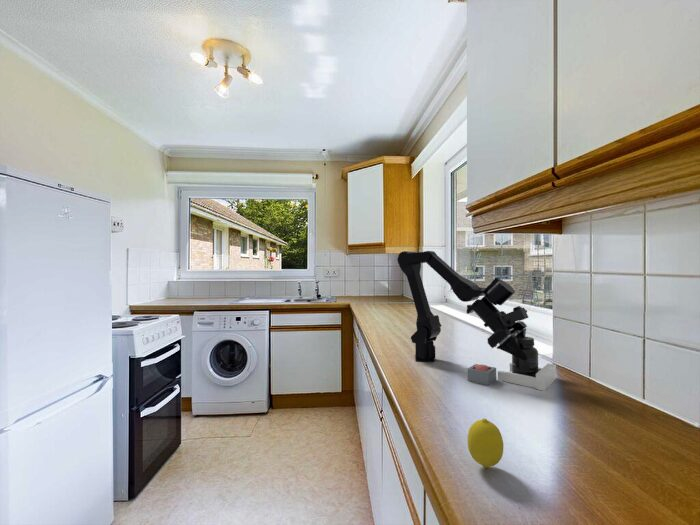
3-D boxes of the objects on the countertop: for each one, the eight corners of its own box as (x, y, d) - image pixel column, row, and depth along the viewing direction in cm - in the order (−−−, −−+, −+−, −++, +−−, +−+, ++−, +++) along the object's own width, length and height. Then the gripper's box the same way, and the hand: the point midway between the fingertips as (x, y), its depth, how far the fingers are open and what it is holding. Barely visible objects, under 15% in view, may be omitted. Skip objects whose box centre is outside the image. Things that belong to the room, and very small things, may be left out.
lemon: (494, 457, 59) (493, 411, 59) (510, 477, 54) (509, 426, 54) (462, 458, 59) (461, 412, 59) (475, 478, 53) (474, 427, 53)
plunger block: (467, 380, 98) (467, 368, 98) (475, 375, 103) (475, 363, 103) (488, 385, 94) (488, 372, 94) (496, 379, 99) (496, 367, 99)
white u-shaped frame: (496, 380, 98) (496, 366, 98) (511, 370, 107) (511, 357, 108) (544, 390, 90) (544, 375, 90) (556, 378, 99) (555, 364, 99)
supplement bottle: (506, 377, 101) (506, 336, 101) (522, 374, 103) (522, 334, 104) (527, 384, 94) (526, 341, 94) (544, 380, 97) (543, 338, 97)
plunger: (473, 378, 98) (473, 366, 98) (478, 375, 101) (478, 363, 101) (485, 381, 96) (485, 368, 96) (490, 378, 99) (490, 366, 99)
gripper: (498, 300, 95) (543, 346, 87) (519, 295, 109) (559, 334, 101) (471, 325, 100) (511, 370, 93) (494, 318, 114) (531, 356, 106)
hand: (530, 357), depth 98 cm, fingers closed on supplement bottle, 7 cm apart
